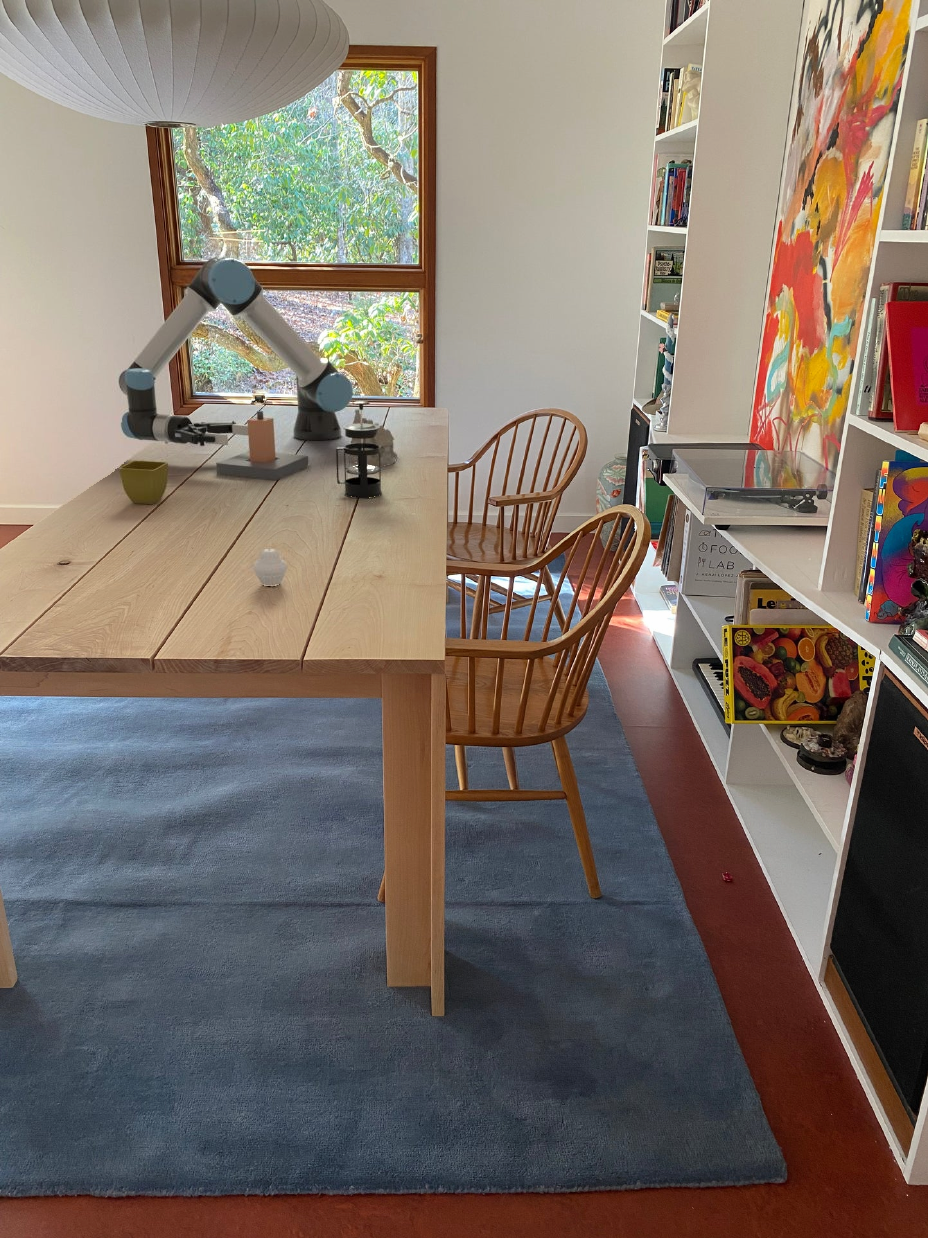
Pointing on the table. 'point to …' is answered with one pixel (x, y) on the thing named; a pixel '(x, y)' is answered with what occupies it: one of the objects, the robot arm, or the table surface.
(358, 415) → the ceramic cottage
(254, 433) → the plug
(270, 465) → the socket
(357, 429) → the french press
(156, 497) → the flower pot
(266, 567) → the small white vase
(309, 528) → the table surface
